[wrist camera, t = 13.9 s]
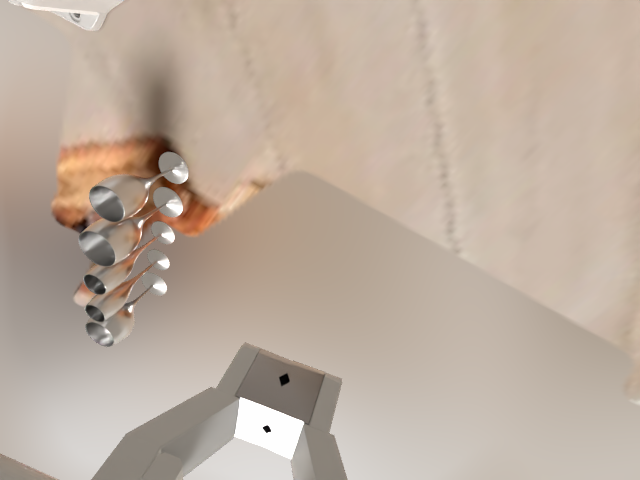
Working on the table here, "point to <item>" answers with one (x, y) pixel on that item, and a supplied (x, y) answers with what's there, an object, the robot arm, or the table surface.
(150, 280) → the goblet set
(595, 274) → the table surface
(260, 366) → the robot arm
